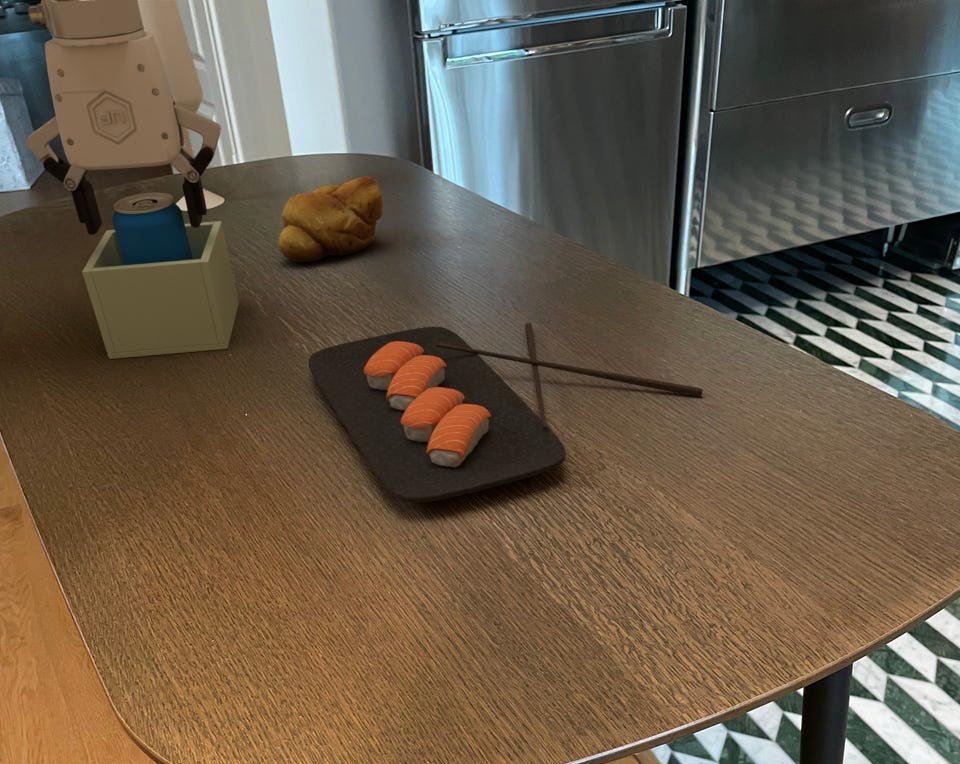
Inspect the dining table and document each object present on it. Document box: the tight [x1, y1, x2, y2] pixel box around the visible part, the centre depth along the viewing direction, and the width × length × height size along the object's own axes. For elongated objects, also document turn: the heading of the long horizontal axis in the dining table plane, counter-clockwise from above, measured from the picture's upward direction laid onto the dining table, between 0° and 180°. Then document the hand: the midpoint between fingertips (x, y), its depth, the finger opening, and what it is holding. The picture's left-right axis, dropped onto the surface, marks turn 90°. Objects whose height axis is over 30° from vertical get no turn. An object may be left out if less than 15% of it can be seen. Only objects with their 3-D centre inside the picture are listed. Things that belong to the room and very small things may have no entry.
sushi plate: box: [308, 322, 704, 504], centre depth 86 cm, size 29×30×4 cm
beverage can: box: [111, 192, 193, 265], centre depth 98 cm, size 6×6×12 cm
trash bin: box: [81, 220, 240, 360], centre depth 100 cm, size 12×12×9 cm
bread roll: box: [277, 176, 384, 262], centre depth 116 cm, size 13×10×8 cm
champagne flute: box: [138, 0, 225, 212], centre depth 128 cm, size 7×7×24 cm
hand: (146, 226), depth 96 cm, fingers open, 9 cm apart
